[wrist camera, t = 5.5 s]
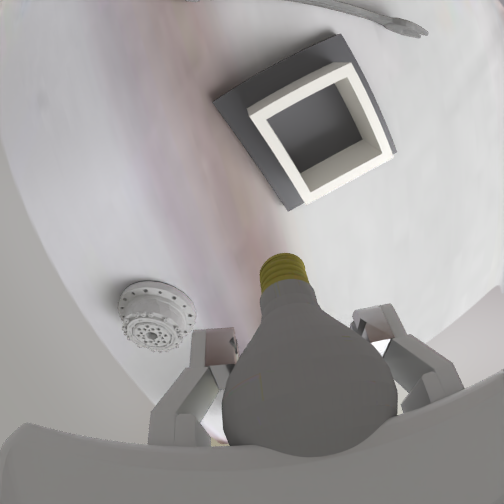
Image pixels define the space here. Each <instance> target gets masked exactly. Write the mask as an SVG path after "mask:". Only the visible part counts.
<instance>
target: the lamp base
mask: <svg viewBox="0 0 504 504" xmlns="http://www.w3.org/2000/svg"><path fill="white" fill-rule="evenodd" d="M212 103H213V104H214V105H215V107H216V108H217V109H218V111H219V112H220V113H221V115H222V116H223V118H224V119H225V120H226V122H227V123H228V124H229V126H230V127H231V129H232V130H233V131H234V133H235V134H236V136H237V137H238V138H239V140H240V141H241V143H242V144H243V146H244V147H245V148H246V150H247V151H248V153H249V154H250V156H251V157H252V158H253V160H254V161H255V163H256V164H257V166H258V167H259V169H260V170H261V172H262V173H263V175H264V176H265V178H266V179H267V181H268V182H269V183H270V185H271V186H272V188H273V189H274V191H275V192H276V194H277V196H278V197H279V199H280V200H281V202H282V203H283V205H284V206H285V208H286V209H287V211H290V210H292V209H294V208H296V207H297V206H299V205H301V204H303V203H305V204H306V205H308V204H310V203H312V202H313V201H315V200H317V199H319V198H321V197H322V196H324V195H326V194H328V193H330V192H332V191H333V190H335V189H337V188H339V187H341V186H343V185H344V184H346V183H348V182H350V181H352V180H354V179H355V178H357V177H359V176H361V175H363V174H365V173H366V172H368V171H370V170H372V169H374V168H376V167H378V166H379V165H381V164H383V163H385V162H387V161H389V160H391V159H392V158H394V156H393V154H395V153H396V152H397V151H396V148H395V145H394V143H393V140H392V137H391V135H390V132H389V130H388V127H387V125H386V122H385V120H384V118H383V115H382V113H381V111H380V108H379V106H378V104H377V102H376V99H375V97H374V95H373V93H372V91H371V89H370V87H369V84H368V82H367V80H366V78H365V76H364V74H363V72H362V70H361V69H360V67H359V65H358V63H357V61H356V59H355V57H354V55H353V54H352V52H351V50H350V48H349V47H348V45H347V43H346V41H345V40H344V38H343V36H342V35H341V34H338V35H335V36H333V37H330V38H328V39H326V40H323V41H321V42H319V43H317V44H315V45H312V46H310V47H308V48H306V49H304V50H302V51H300V52H298V53H296V54H294V55H292V56H290V57H288V58H286V59H284V60H282V61H280V62H278V63H276V64H275V65H273V66H271V67H269V68H267V69H265V70H264V71H262V72H260V73H258V74H257V75H255V76H253V77H251V78H250V79H248V80H246V81H245V82H243V83H241V84H240V85H238V86H236V87H235V88H233V89H231V90H230V91H228V92H227V93H225V94H224V95H222V96H220V97H219V98H217V99H216V100H214V101H213V102H212Z"/></svg>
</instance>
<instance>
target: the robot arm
mask: <svg viewBox="0 0 504 504" xmlns="http://www.w3.org/2000/svg"><path fill="white" fill-rule="evenodd" d="M352 317H353V320H354V321H353V322H352V323H351V324H350V329H352V330H353V331H355V332H356V333H358V334H359V335H360V336H362V337H363V338H364V339H366V340H367V341H368V342H370V343H371V344H372V345H373V346H374V347H375V348H376V349H377V350H378V352H379V353H380V354H381V356H382V357H383V359H384V360H385V362H386V363H387V364H388V366H389V368H390V370H391V373H392V376H393V379H394V380H395V381H396V382H398V383H399V384H400V385H401V386H402V387H403V388H404V389H405V390H406V391H407V392H408V393H409V394H408V395H407V397H406V398H405V399H404V400H403V402H402V404H401V407H402V410H403V414H400V415H397V416H394V417H391V418H389V419H388V420H386V421H385V422H384V423H383V424H382V425H381V426H380V427H379V428H378V429H377V430H376V431H375V432H374V433H373V434H372V435H371V436H369V437H368V438H367V439H366V440H364V441H363V442H361V443H360V444H358V445H357V446H355V447H353V448H351V449H348V450H346V451H343V452H340V453H337V454H333V455H328V456H322V457H298V456H292V455H288V454H284V453H281V452H278V451H275V450H272V449H268V448H265V447H262V446H258V445H238V446H216V447H211V437H210V436H209V434H208V433H207V432H206V431H205V429H204V428H203V427H202V425H201V424H200V422H201V421H202V419H203V417H204V416H205V414H206V412H207V411H208V409H209V407H210V406H211V404H212V402H213V401H214V399H215V397H216V396H217V394H218V392H219V390H222V389H225V387H226V382H227V379H228V377H229V375H230V373H231V372H232V370H233V368H234V366H235V364H236V363H237V361H238V359H239V350H238V343H237V340H236V338H235V330H234V327H231V328H217V329H201V330H193V333H192V341H191V354H190V367H188V368H185V369H184V371H183V372H182V373H181V375H180V376H179V377H178V378H177V380H176V381H175V382H174V383H173V385H172V386H171V387H170V389H169V390H168V391H167V392H166V394H165V395H164V396H163V397H162V399H161V400H160V401H159V402H158V404H157V405H156V406H155V407H154V409H153V410H152V411H151V416H150V425H149V435H148V445H145V444H135V443H126V442H118V441H110V440H103V439H98V438H92V437H86V436H81V435H76V434H71V433H67V432H63V431H58V430H54V429H50V428H47V427H43V426H39V425H36V424H32V423H24V424H23V425H21V426H20V427H19V428H18V429H17V430H15V431H14V432H13V433H12V434H11V435H10V436H9V437H8V438H7V439H6V441H5V442H4V443H3V445H2V448H1V450H0V504H504V369H502V370H501V371H499V372H497V373H495V374H493V375H491V376H490V377H488V378H486V379H484V380H482V381H480V382H478V383H476V384H474V385H472V386H470V387H468V388H466V389H465V388H464V386H463V384H462V382H461V379H460V378H459V375H458V373H457V371H456V369H455V367H454V365H453V363H452V362H451V361H449V360H448V359H446V358H445V357H443V356H442V355H440V354H439V353H437V352H436V351H435V350H433V349H432V348H430V347H429V346H427V345H426V344H424V343H423V342H421V341H420V340H418V339H417V338H416V337H414V336H413V335H411V334H409V335H407V333H406V331H405V329H404V327H403V325H402V323H401V321H400V319H399V317H398V315H397V313H396V311H395V309H394V307H393V306H392V305H391V304H385V305H380V306H373V307H368V308H363V309H358V310H355V311H354V312H353V316H352Z"/></svg>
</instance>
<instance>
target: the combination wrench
mask: <svg viewBox="0 0 504 504" xmlns="http://www.w3.org/2000/svg"><path fill="white" fill-rule="evenodd" d="M186 1H191V2H197V1H200V0H186ZM286 1H293V2H299V3H304V4H309V5H314V6H319V7H324V8H328V9H332V10H336V11H340V12H344V13H348V14H351V15H355V16H358V17H363V18H366V19H369V20H372V21H374V22H377V23H379V24H381V25H383V26H385V27H386V28H387V29H388V30H391V31H393V32H396V33H399V34H401V35H405V36H409V37H415V38H421V35H420V34H422V35H425V36H428V31H426V30H425V29H424V28H422V27H421V26H419V25H417V24H415V23H413V22H410V21H408V20H404V19H400V18H391V17H387V16H384V15H380V14H377V13H374V12H371V11H368V10H365V9H363V8H360V7H356V6H353V5H349V4H346V3H342V2H338V1H335V0H286Z"/></svg>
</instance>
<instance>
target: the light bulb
mask: <svg viewBox="0 0 504 504" xmlns="http://www.w3.org/2000/svg"><path fill="white" fill-rule="evenodd" d="M260 283H261V292H262V295H261V298H260V306H261V313H262V320H261V324H260V326H259V328H258V329H257V331H256V333H255V335H254V336H253V338H252V340H251V341H250V343H249V344H248V346H247V347H246V348H245V350H244V351H243V353H242V354H241V356H240V357H239V359H238V361H237V363H236V364H235V366H234V368H233V370H232V372H231V373H230V375H229V377H228V379H227V382H226V387H225V391H224V396H223V400H222V419H223V430H224V433H225V435H226V438H227V440H228V443H229V445H230V446H238V445H258V446H262V447H265V448H268V449H272V450H275V451H278V452H281V453H284V454H288V455H292V456H298V457H322V456H328V455H333V454H337V453H340V452H343V451H346V450H348V449H351V448H353V447H355V446H357V445H358V444H360V443H361V442H363V441H364V440H366V439H367V438H368V437H369V436H371V435H372V434H373V433H374V432H375V431H376V430H377V429H378V428H379V427H380V426H381V425H382V424H383V423H384V422H385V421H386V420H388V419H389V418H391V417H394V416H397V402H398V401H397V400H398V395H397V389H396V385H395V382H394V379H393V376H392V373H391V370H390V368H389V366H388V364H387V363H386V362H385V360H384V359H383V357H382V356H381V354H380V353H379V352H378V350H377V349H376V348H375V347H374V346H373V345H372V344H371V343H370V342H368V341H367V340H366V339H364V338H363V337H362V336H360V335H359V334H358V333H356V332H355V331H353V330H352V329H350V328H348V327H347V326H345V325H344V324H342V323H340V322H339V321H337V320H336V319H334V318H333V317H331V316H330V315H328V314H327V313H326V312H324V311H323V310H321V308H320V306H319V305H318V303H317V299H316V296H315V292H314V290H313V288H312V286H311V285H310V283H309V281H308V277H307V275H306V271H305V266H304V263H303V261H302V260H301V259H300V258H299V257H298V256H296V255H294V254H290V253H280V254H277V255H274V256H272V257H270V258H269V259H268V260H267V261H266V262H265V263H264V264H263V266H262V268H261V270H260Z"/></svg>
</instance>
